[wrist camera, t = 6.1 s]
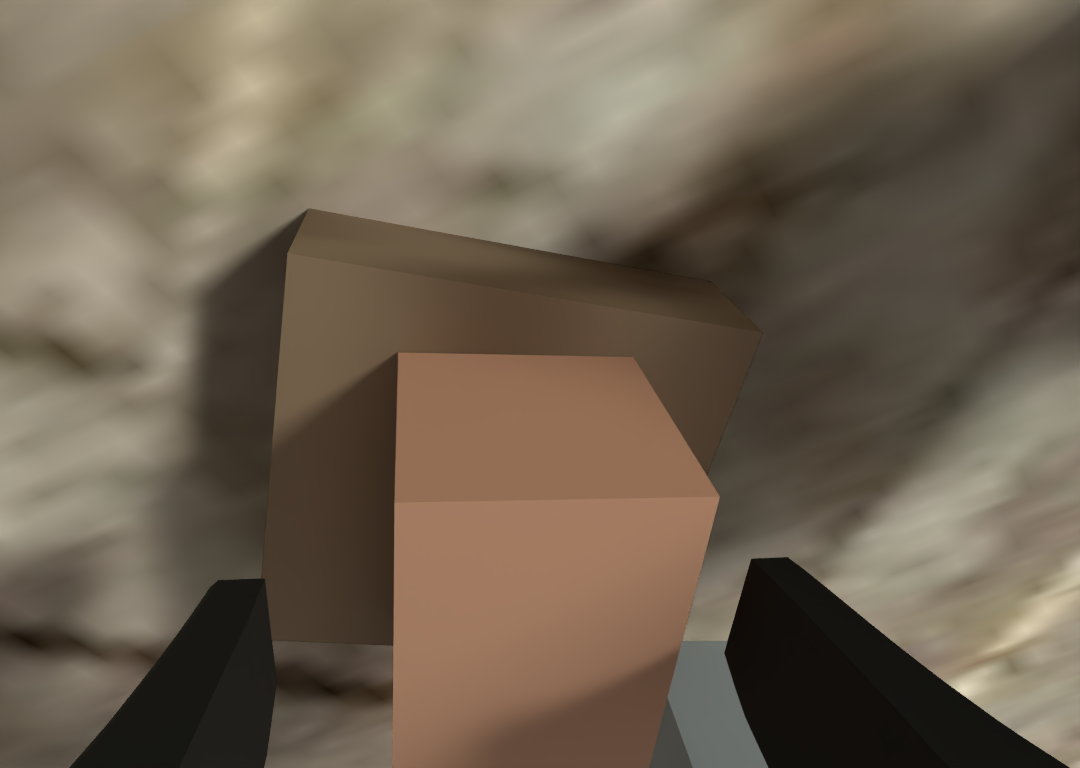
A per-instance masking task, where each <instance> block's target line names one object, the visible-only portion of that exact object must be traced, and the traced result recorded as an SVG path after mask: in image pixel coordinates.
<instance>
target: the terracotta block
mask: <svg viewBox="0 0 1080 768" xmlns="http://www.w3.org/2000/svg"><path fill="white" fill-rule="evenodd" d="M719 499H720V496H719V494H718V493H717V491H716V490H715V488H714V486H713V485H712V483H711V481H710V480H709V478H708V477H707V475H706V473H705V472H704V470H703V469H702V467H701V465H700V464H699V462H698V460H697V459H696V457H695V456H694V454H693V452H692V451H691V449H690V448H689V446H688V444H687V443H686V441H685V440H684V438H683V436H682V435H681V433H680V431H679V430H678V428H677V427H676V425H675V423H674V422H673V420H672V419H671V417H670V415H669V414H668V412H667V410H666V409H665V407H664V406H663V404H662V402H661V401H660V399H659V398H658V396H657V394H656V393H655V391H654V390H653V388H652V386H651V385H650V383H649V381H648V380H647V378H646V377H645V375H644V373H643V372H642V370H641V369H640V367H639V365H638V364H637V362H636V361H635V359H634V357H602V356H552V355H501V354H450V353H400V352H398V381H397V421H396V462H395V502H394V640H393V768H649V766H650V762H651V758H652V755H653V751H654V747H655V743H656V739H657V735H658V732H659V728H660V724H661V720H662V716H663V713H664V709H665V705H666V701H667V697H668V693H669V690H670V686H671V682H672V678H673V674H674V671H675V667H676V663H677V659H678V655H679V651H680V648H681V644H682V640H683V636H684V632H685V629H686V625H687V621H688V617H689V613H690V609H691V606H692V602H693V598H694V594H695V590H696V587H697V583H698V579H699V575H700V571H701V567H702V564H703V560H704V556H705V552H706V548H707V545H708V541H709V537H710V533H711V529H712V525H713V522H714V518H715V514H716V510H717V506H718V503H719Z"/></svg>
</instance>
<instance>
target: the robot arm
mask: <svg viewBox="0 0 1080 768" xmlns="http://www.w3.org/2000/svg"><path fill="white" fill-rule="evenodd" d="M724 654H725V657H726V660H727V664H728V667H729V670H730V673H731V676H732V680H733V683H734V686H735V689H736V692H737V695H738V698H739V701H740V704H741V707H742V709H743V712H744V715H745V718H746V720H747V722H748V725H749V727H750V729H751V731H752V733H753V736H754V738H755V740H756V742H757V744H758V746H759V749H760V751H761V753H762V755H763V757H764V759H765V761H766V764H767V766H768V768H1069V767H1068V766H1066V765H1065V764H1063V763H1061V762H1060V761H1058V760H1057V759H1055V758H1054V757H1052V756H1051V755H1049V754H1048V753H1046V752H1044V751H1043V750H1041V749H1040V748H1038V747H1037V746H1035V745H1034V744H1032V743H1031V742H1029V741H1028V740H1026V739H1024V738H1023V737H1021V736H1020V735H1018V734H1017V733H1015V732H1014V731H1012V730H1011V729H1010V728H1008V727H1007V726H1005V725H1004V724H1002V723H1001V722H999V721H998V720H996V719H995V718H994V717H992V716H991V715H989V714H988V713H986V712H985V711H984V710H982V709H981V708H980V707H978V706H977V705H975V704H974V703H973V702H971V701H970V700H969V699H967V698H966V697H965V696H963V695H962V694H960V693H959V692H958V691H956V690H955V689H954V688H952V687H951V686H949V685H948V684H947V683H945V682H944V681H943V680H941V679H940V678H939V677H937V676H936V675H935V674H933V673H932V672H931V671H930V670H928V669H927V668H926V667H924V666H923V665H922V664H920V663H919V662H918V661H917V660H915V659H914V658H913V657H911V656H910V655H909V654H908V653H906V652H905V651H904V650H903V649H901V648H900V647H899V646H897V645H896V644H895V643H894V642H892V641H891V640H890V639H889V638H887V637H886V636H885V635H884V634H882V633H881V632H880V631H879V630H878V629H876V628H875V627H874V626H873V625H871V624H870V623H869V622H868V621H866V620H865V619H864V618H863V617H862V616H860V615H859V614H858V613H857V612H855V611H854V610H853V609H852V608H851V607H849V606H848V605H847V604H846V603H844V602H843V601H842V600H841V599H840V598H838V597H837V596H836V595H835V594H833V593H832V592H831V591H830V590H829V589H827V588H826V587H825V586H824V585H822V584H821V583H820V582H819V581H818V580H816V579H815V578H814V577H813V576H811V575H810V574H809V573H808V572H806V571H805V570H804V569H802V568H801V567H800V566H799V565H797V564H796V563H795V562H793V561H792V560H791V559H789V558H788V557H783V558H758V559H751V562H750V565H749V569H748V572H747V576H746V579H745V583H744V586H743V590H742V593H741V597H740V600H739V603H738V607H737V610H736V614H735V617H734V621H733V624H732V628H731V631H730V635H729V638H728V642H727V645H726V649H725V652H724ZM276 683H277V681H276V672H275V663H274V654H273V645H272V636H271V628H270V619H269V610H268V601H267V592H266V583H265V578H264V579H239V580H218V581H217V582H216V583H215V584H213V585H212V586H211V587H210V588H209V590H208V591H207V593H206V594H205V596H204V597H203V599H202V600H201V602H200V603H199V605H198V606H197V607H196V609H195V610H194V612H193V613H192V615H191V616H190V617H189V619H188V620H187V622H186V623H185V624H184V626H183V627H182V629H181V630H180V631H179V633H178V634H177V635H176V637H175V638H174V640H173V641H172V642H171V644H170V645H169V646H168V648H167V649H166V650H165V652H164V653H163V654H162V656H161V657H160V658H159V660H158V661H157V662H156V664H155V665H154V666H153V667H152V669H151V670H150V671H149V673H148V674H147V675H146V676H145V678H144V679H143V680H142V681H141V683H140V684H139V685H138V686H137V688H136V689H135V690H134V691H133V693H132V694H131V695H130V696H129V698H128V699H127V700H126V702H125V703H124V704H123V705H122V707H121V708H120V709H119V710H118V712H117V713H116V714H115V715H114V717H113V718H112V719H111V720H110V721H109V723H108V724H107V725H106V726H105V727H104V729H103V730H102V731H101V732H100V733H99V734H98V735H97V737H96V738H95V739H94V740H93V741H92V742H91V744H90V745H89V746H88V747H87V748H86V749H85V750H84V752H83V753H82V754H81V755H80V756H79V757H78V758H77V760H76V761H75V762H74V763H73V764H72V765H71V767H70V768H264V765H265V760H266V756H267V749H268V742H269V735H270V728H271V721H272V714H273V706H274V698H275V691H276Z"/></svg>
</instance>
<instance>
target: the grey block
mask: <svg viewBox="0 0 1080 768" xmlns="http://www.w3.org/2000/svg"><path fill="white" fill-rule="evenodd" d="M727 642H728V641H682V644H681V648H680V651H679V655H678V659H677V663H676V667H675V671H674V674H673V678H672V682H671V686H670V690H669V693H668V697H667V701H666V705H665V709H664V713H663V716H662V720H661V724H660V728H659V732H658V735H657V739H656V743H655V747H654V751H653V755H652V758H651V762H650V766H649V768H768V766H767V764H766V761H765V759H764V757H763V755H762V753H761V751H760V749H759V746H758V744H757V742H756V740H755V738H754V736H753V733H752V731H751V729H750V727H749V725H748V722H747V720H746V718H745V715H744V712H743V709H742V707H741V704H740V701H739V698H738V695H737V692H736V689H735V686H734V683H733V680H732V676H731V673H730V670H729V667H728V664H727V660H726V657H725V654H724V652H725V649H726V645H727Z"/></svg>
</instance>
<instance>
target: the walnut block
mask: <svg viewBox="0 0 1080 768" xmlns="http://www.w3.org/2000/svg"><path fill="white" fill-rule="evenodd" d="M762 335H763V332H762V331H761V330H760V329H759V328H758V327H757V326H756V325H755V324H754V323H753V322H752V321H751V320H750V319H749V318H748V317H747V316H746V315H745V314H744V313H742V312H741V311H740V310H739V309H738V308H737V307H736V306H735V305H734V304H733V303H732V302H731V301H730V300H729V299H728V298H727V297H726V296H725V295H724V294H723V293H722V292H721V291H720V290H719V289H718V288H717V287H716V286H715V285H714V284H713V283H712V282H710V281H705V280H699V279H694V278H688V277H683V276H677V275H672V274H666V273H661V272H655V271H650V270H644V269H639V268H633V267H628V266H622V265H617V264H611V263H606V262H600V261H595V260H589V259H584V258H578V257H573V256H567V255H562V254H556V253H551V252H545V251H540V250H534V249H529V248H523V247H518V246H512V245H507V244H501V243H496V242H490V241H485V240H479V239H474V238H468V237H463V236H457V235H452V234H447V233H441V232H436V231H430V230H425V229H419V228H414V227H408V226H403V225H397V224H392V223H386V222H381V221H375V220H370V219H364V218H359V217H353V216H348V215H342V214H337V213H331V212H326V211H320V210H315V209H308V211H307V213H306V215H305V218H304V220H303V222H302V224H301V226H300V228H299V230H298V232H297V234H296V237H295V239H294V241H293V243H292V245H291V247H290V249H289V251H288V253H287V266H286V278H285V291H284V303H283V315H282V328H281V340H280V353H279V365H278V377H277V390H276V402H275V415H274V427H273V440H272V452H271V464H270V477H269V489H268V502H267V514H266V526H265V539H264V551H263V564H262V576H261V579H264V578H265V583H266V592H267V601H268V610H269V619H270V628H271V636H272V640H278V641H301V642H324V643H347V644H370V645H393V640H394V502H395V462H396V421H397V381H398V352H400V353H450V354H501V355H552V356H602V357H634V359H635V361H636V362H637V364H638V365H639V367H640V369H641V370H642V372H643V373H644V375H645V377H646V378H647V380H648V381H649V383H650V385H651V386H652V388H653V390H654V391H655V393H656V394H657V396H658V398H659V399H660V401H661V402H662V404H663V406H664V407H665V409H666V410H667V412H668V414H669V415H670V417H671V419H672V420H673V422H674V423H675V425H676V427H677V428H678V430H679V431H680V433H681V435H682V436H683V438H684V440H685V441H686V443H687V444H688V446H689V448H690V449H691V451H692V452H693V454H694V456H695V457H696V459H697V460H698V462H699V464H700V465H701V467H702V469H703V470H704V472H705V473H706V475H707V473H708V470H709V468H710V465H711V463H712V460H713V458H714V455H715V453H716V450H717V448H718V445H719V443H720V440H721V438H722V435H723V433H724V430H725V428H726V425H727V423H728V420H729V418H730V415H731V413H732V410H733V408H734V405H735V403H736V400H737V398H738V395H739V393H740V390H741V388H742V385H743V383H744V380H745V378H746V375H747V373H748V370H749V368H750V365H751V363H752V360H753V358H754V355H755V353H756V350H757V348H758V345H759V343H760V340H761V338H762Z"/></svg>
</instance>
